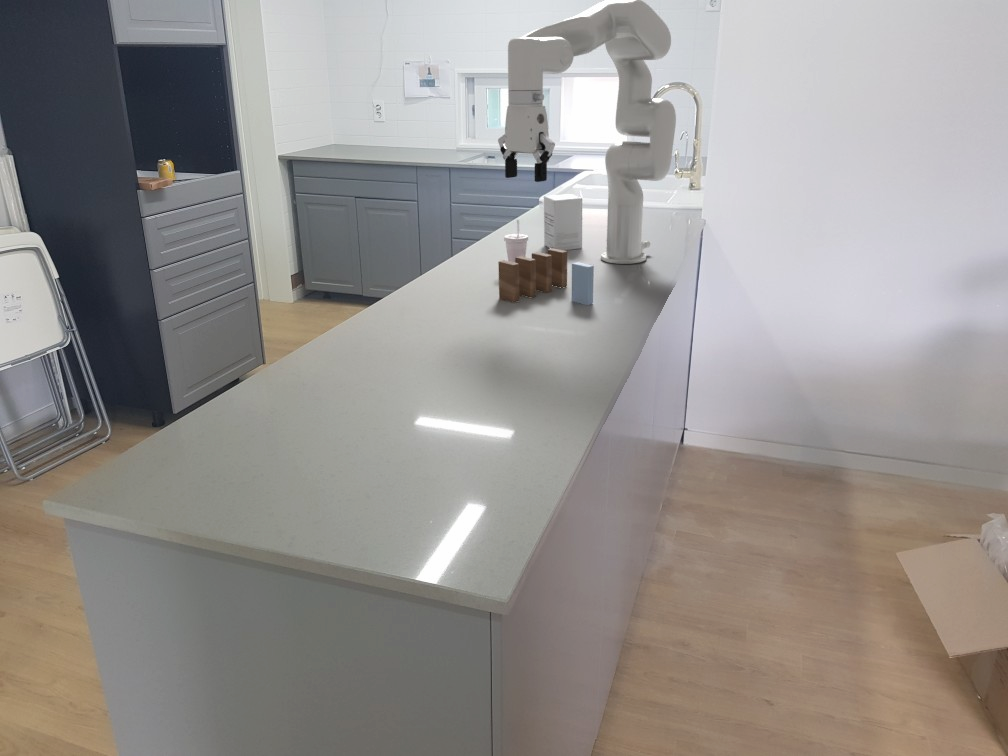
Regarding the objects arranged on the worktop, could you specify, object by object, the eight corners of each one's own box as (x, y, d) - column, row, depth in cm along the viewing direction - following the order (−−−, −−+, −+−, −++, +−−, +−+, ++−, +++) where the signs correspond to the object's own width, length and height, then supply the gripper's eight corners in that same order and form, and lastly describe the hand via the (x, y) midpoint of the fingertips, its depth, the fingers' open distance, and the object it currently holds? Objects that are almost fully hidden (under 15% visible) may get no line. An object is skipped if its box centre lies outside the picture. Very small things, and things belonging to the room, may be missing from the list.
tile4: (521, 292, 190) (520, 256, 187) (535, 296, 187) (535, 259, 184) (515, 293, 189) (515, 257, 186) (530, 297, 186) (530, 260, 182)
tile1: (576, 299, 184) (577, 262, 180) (592, 303, 180) (593, 265, 177) (571, 301, 183) (571, 263, 179) (587, 305, 179) (588, 267, 176)
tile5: (504, 297, 187) (504, 260, 183) (519, 301, 183) (518, 263, 180) (499, 298, 186) (498, 261, 182) (513, 302, 182) (513, 265, 179)
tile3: (537, 287, 194) (536, 252, 190) (551, 291, 190) (551, 255, 187) (531, 289, 193) (531, 253, 189) (546, 293, 189) (546, 256, 186)
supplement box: (570, 242, 240) (571, 193, 234) (582, 248, 232) (583, 197, 226) (543, 245, 237) (543, 195, 231) (554, 251, 229) (554, 200, 224)
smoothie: (526, 275, 205) (525, 222, 199) (502, 275, 206) (501, 221, 200) (530, 269, 210) (530, 217, 205) (507, 268, 212) (506, 217, 206)
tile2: (552, 283, 197) (552, 248, 194) (566, 287, 194) (567, 251, 190) (547, 284, 196) (547, 249, 193) (562, 288, 193) (562, 252, 189)
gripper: (565, 99, 167) (564, 181, 173) (511, 97, 179) (512, 174, 186) (540, 100, 163) (540, 184, 169) (486, 99, 175) (488, 177, 181)
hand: (525, 179), depth 177 cm, fingers open, 9 cm apart
